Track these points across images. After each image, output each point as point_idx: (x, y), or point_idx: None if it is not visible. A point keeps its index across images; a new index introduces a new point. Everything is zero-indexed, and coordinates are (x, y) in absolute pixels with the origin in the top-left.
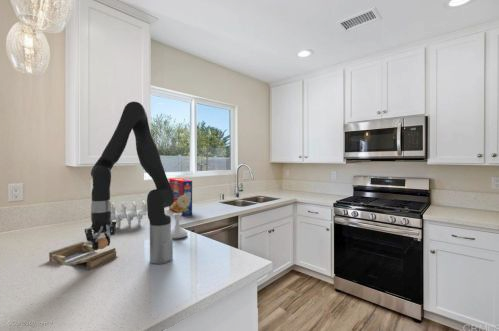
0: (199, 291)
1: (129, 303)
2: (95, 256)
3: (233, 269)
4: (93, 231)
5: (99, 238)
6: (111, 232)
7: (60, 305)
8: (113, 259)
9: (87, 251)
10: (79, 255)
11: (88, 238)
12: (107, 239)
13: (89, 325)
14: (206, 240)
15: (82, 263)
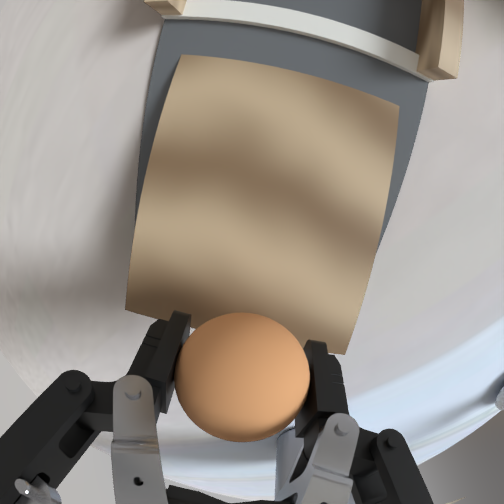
0: (180, 479)
1: None
2: (162, 318)
3: (272, 497)
4: (116, 500)
5: (213, 424)
6: (360, 473)
7: (8, 324)
8: None
9: (420, 23)
10: (342, 4)
11: (58, 405)
12: (297, 419)
13: (33, 391)
14: (454, 441)
15: None
